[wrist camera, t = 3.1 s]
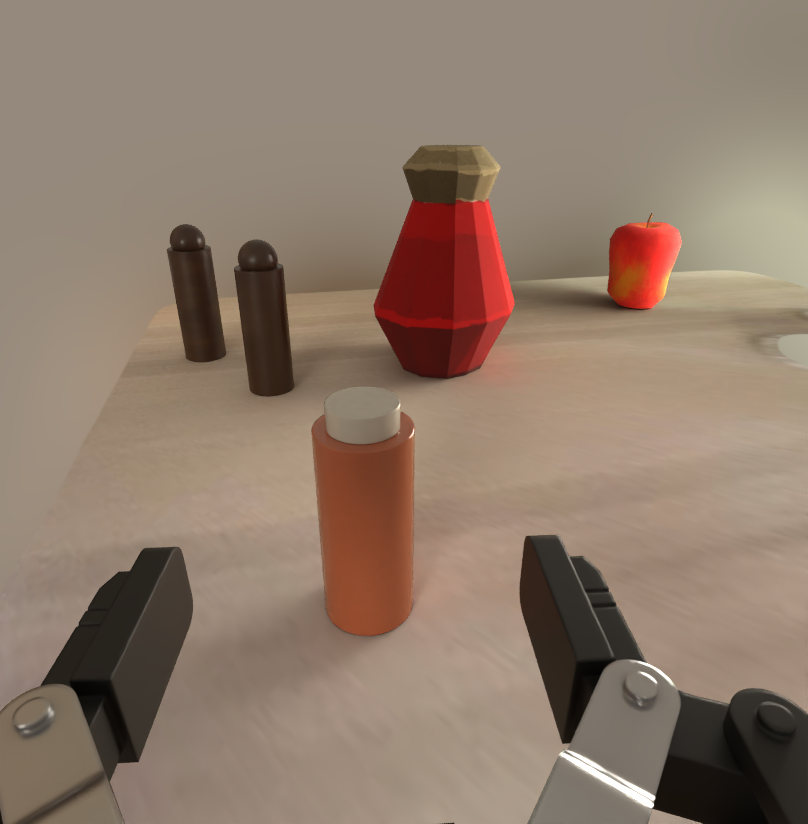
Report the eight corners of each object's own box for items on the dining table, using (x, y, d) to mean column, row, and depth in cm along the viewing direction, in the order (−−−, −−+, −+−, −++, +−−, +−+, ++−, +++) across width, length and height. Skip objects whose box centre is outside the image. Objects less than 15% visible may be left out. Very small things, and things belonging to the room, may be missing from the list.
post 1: (198, 365, 58) (174, 229, 52) (179, 355, 60) (155, 224, 54) (233, 355, 60) (214, 224, 54) (213, 345, 63) (194, 220, 57)
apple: (644, 294, 82) (660, 208, 77) (681, 311, 75) (702, 216, 69) (589, 298, 80) (602, 209, 75) (621, 315, 73) (638, 218, 68)
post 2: (266, 400, 50) (248, 246, 44) (241, 387, 53) (221, 239, 47) (302, 386, 53) (290, 239, 47) (277, 375, 55) (262, 234, 49)
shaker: (366, 652, 26) (358, 437, 21) (307, 602, 29) (287, 401, 24) (431, 600, 29) (436, 400, 24) (371, 560, 32) (365, 372, 27)
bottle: (419, 329, 68) (422, 143, 59) (530, 348, 62) (551, 144, 53) (344, 374, 55) (333, 147, 47) (474, 403, 50) (490, 150, 41)
